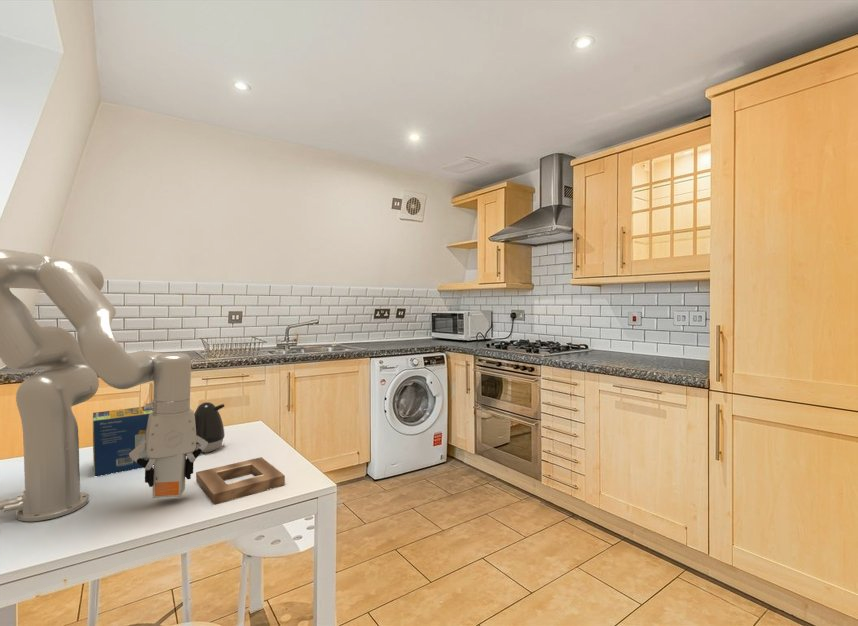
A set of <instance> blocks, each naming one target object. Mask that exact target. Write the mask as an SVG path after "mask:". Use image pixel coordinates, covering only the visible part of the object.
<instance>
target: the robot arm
mask: <svg viewBox="0 0 858 626" xmlns="http://www.w3.org/2000/svg"><path fill="white" fill-rule="evenodd" d="M104 284H105V279H104V276H103V273H102V272H101V270H100V269H99V268H97V266H95V265H94V264H92V263H89V262H85V261H80V260H79V261H78V260H72V259H66V258H60V257H56V256H50V255H45V254H38V253H33V252H25V251H19V250H18V251H17V250H13V249H12V250H11V249H5V248H4V249H2V248H0V360H1V361H2V363H3V364H4V365H5V366H6V367H7V368H9V369H10V370H13V371H17V372H18V371H19V372H21V371H22V372H24V371H31V370H36V369H37V370H38V369H42V368H43V369H44V371H41V372H38V373H34V374H33V375H31V376H29V377H27V378H25V379H24V380H23V381H22V382H21V383H20V384H19V386H18V388H17V390H16V393H15V404H16V406H17V410H18V413H19V416H20V419H21V420H20V421H21V425H22V443H23V462H24V463H23V465H24V466H23V468H24V471H23V472H24V490H23V494H22V495H18V496H17V497H16V498H11V499H4V500H0V511H3V512H4V513H7V512H12V511H15V510H16V513H15V516H16V519H17V520H19V521H23V522H39V521H46V520H51V519H55V518H60V517H62V516H65V515H69V514H71V513H73V512H75V511H78V510H80V509H82V508H83V507H84V506H86V505H87V503H88V502H89V501H90V500H89V494H88V493H86V492H84V491H81V482H80V481H81V480H80V479H81V477H80V441H79V440H80V439H79V426H78V422H77V418H76V416H75V414H74V412H73V409H72V407H73V406H77V405H79V404H83V403H85V402H87V401H89V400H90V399H92V398H93V397H94V396H95V395H96V394H97V392H98V390H99V386H100V381H99V378H100V379H101V380H102V381H103V383H105V384H106V385H108V386H110V387H111V388H114V389H118V390H127V389H131V388H134V387H137V386H140V385H143V384H147V383H149V382H153V386H152V387H153V392H152V393H153V394H152V401H151V402H149V403H145V408H146V410H148V409H149V410H152V411H153V412H151V413H150V414H149V418H148V422H147V427H146V435H145V441H143V442H142V443H141V444H140V445H139V446H137V447H136V448H135V449H134V450H133V451H131V452H130V453H129V456H130V457H131V458H132V459H133V460H134V461H135V462H137V464H139V465H140V466H142V467H143V468H142V469H144V482H145V483H146V484H148V487H149V488H151V487H152V488H153V483H154V469H153V464H154V462H155V461H156V459H161V458H167V457H173V456H176V455H179V449H180V447H183V455H185V454H186V471H185V479H186V480H190V479H191V478H192V477H191V476H192V475H193V474H194V463H195V461H196V459H197V458H198V457H199V456H200V455H201V454H202V451H203V450H204V449H205V447H206V446H207V445H208V442H207V441H206V440H204V439H203V438H201V437H199V436H198V435H196V424H195V416H194V413H195V411H194V410H193V409H191V382H192V381H191V380H192V357H191V356H190V355H189V354H188V353H182V352H181V353H180V352H168V353H164V352H158V351H150V350H138V351H133V352H129V353H128V352H127V351H126V350H125V349H124V348H123V347H122V346H121V344H120V343H119V342H118V340H117V339H116V337H115V336H114V334H113V331H112V321H113V318H115V316H116V314H117V313H116V312H117V311H116V308H115V306H114V305H113V304H112V303H111V302H110V301H109V299H107V297H106V296H105V295H104V294H103V293H102V292H101V290H102V289H103V287H104ZM11 289H29V290H32V289H33V290H40V291H43V292H44V294H45V295H46V296H47V297H48V298H49V300H51V301H52V303H53V304H54V305H55V306H56V308H57V309H58V310H59V311H60V313H62V315H64V317H65V318H66V319H67V320H68V322H70V324H71V325H72V327H74V329H75V330H76V333H77V339H76V337H75V336H74V335H73V334H72V333H71V332H69V331H68V330H67V329H64V328H61V327H59V326H41V325H39V324H38V322H37V320H36V319H35V318H34V317H33V314H32V313H31V311H30V309H29V308H28V307H27V305H26V304H25V303H24V302H23V301H22V300H21V299H20V298H19V297H17V296H16V295H15V294H13V292H12V291H11ZM196 442H198V443H199V446H198V447H197V448H196ZM144 449H145V453H146V456H147V459H146V460H145V459H143V458H142V457H140V456H139V454H140V453H141V452H142V451H143V450H144Z"/></svg>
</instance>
